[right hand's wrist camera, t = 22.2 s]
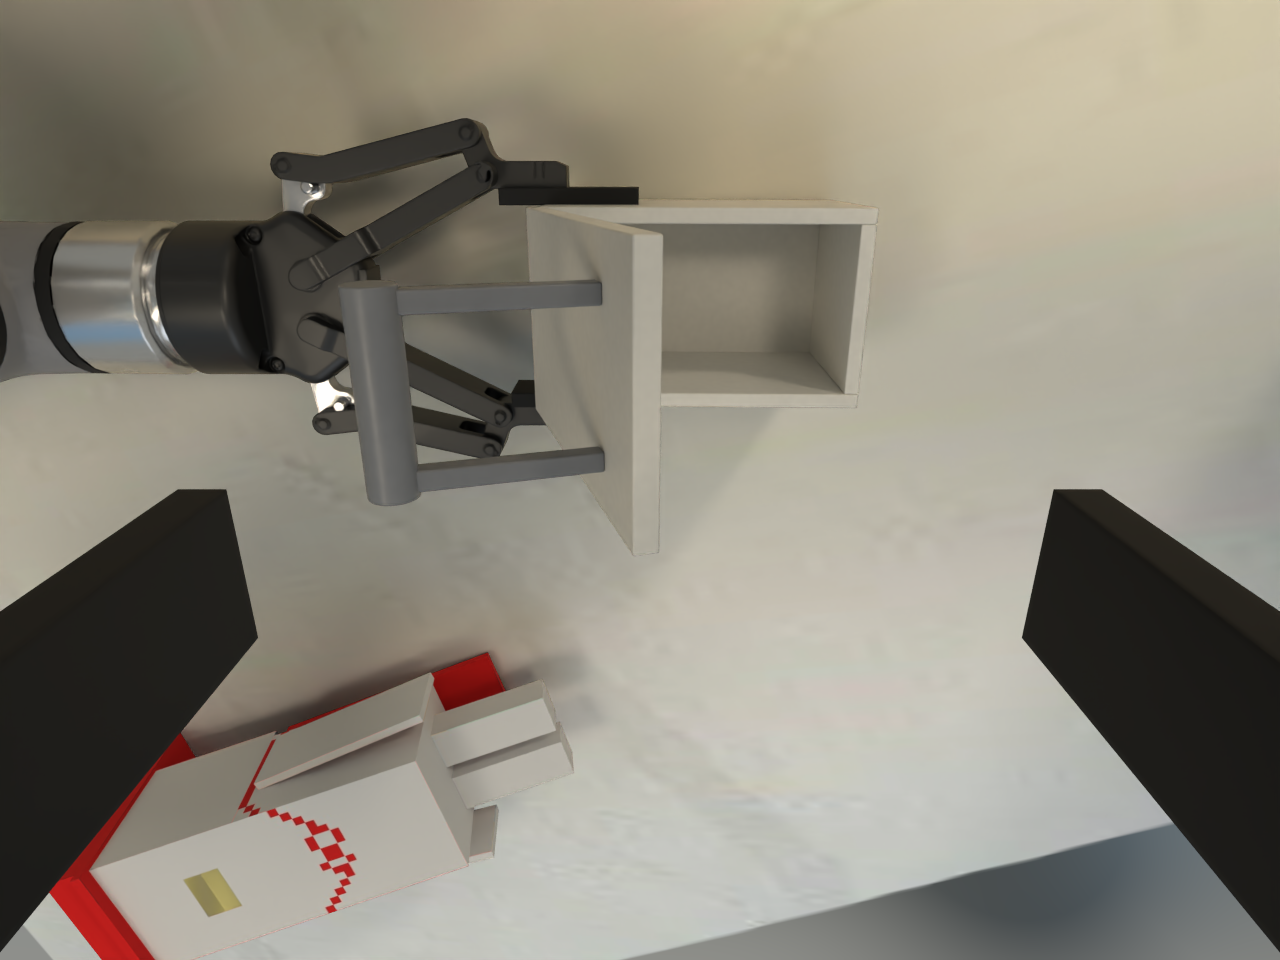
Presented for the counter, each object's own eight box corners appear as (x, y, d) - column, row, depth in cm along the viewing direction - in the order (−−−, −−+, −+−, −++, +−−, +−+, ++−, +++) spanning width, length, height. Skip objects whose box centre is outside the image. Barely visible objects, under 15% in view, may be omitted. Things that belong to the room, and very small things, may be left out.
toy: (591, 855, 48) (127, 1013, 48) (579, 723, 61) (212, 846, 60) (526, 702, 44) (16, 873, 43) (527, 593, 57) (131, 724, 56)
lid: (664, 233, 20) (321, 240, 17) (660, 553, 23) (372, 594, 21) (544, 207, 34) (346, 209, 31) (552, 408, 37) (374, 423, 35)
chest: (831, 199, 43) (879, 207, 34) (817, 361, 46) (857, 408, 37) (562, 199, 43) (536, 206, 34) (567, 359, 47) (545, 406, 37)
